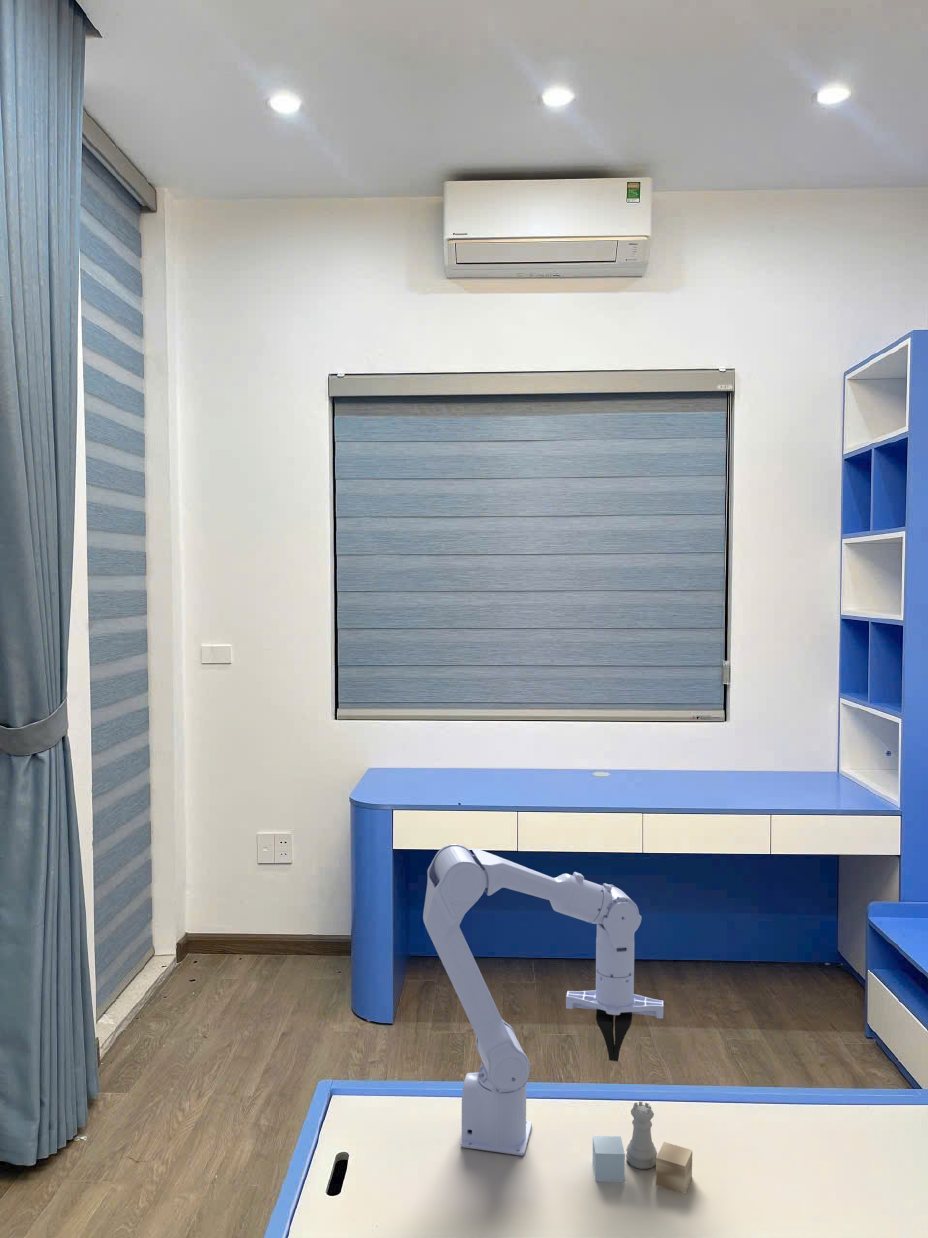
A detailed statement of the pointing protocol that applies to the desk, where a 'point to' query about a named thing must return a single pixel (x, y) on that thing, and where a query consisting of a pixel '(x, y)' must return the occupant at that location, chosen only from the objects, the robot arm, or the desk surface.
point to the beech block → (674, 1167)
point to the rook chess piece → (641, 1138)
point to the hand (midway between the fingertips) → (613, 1057)
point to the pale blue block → (608, 1158)
